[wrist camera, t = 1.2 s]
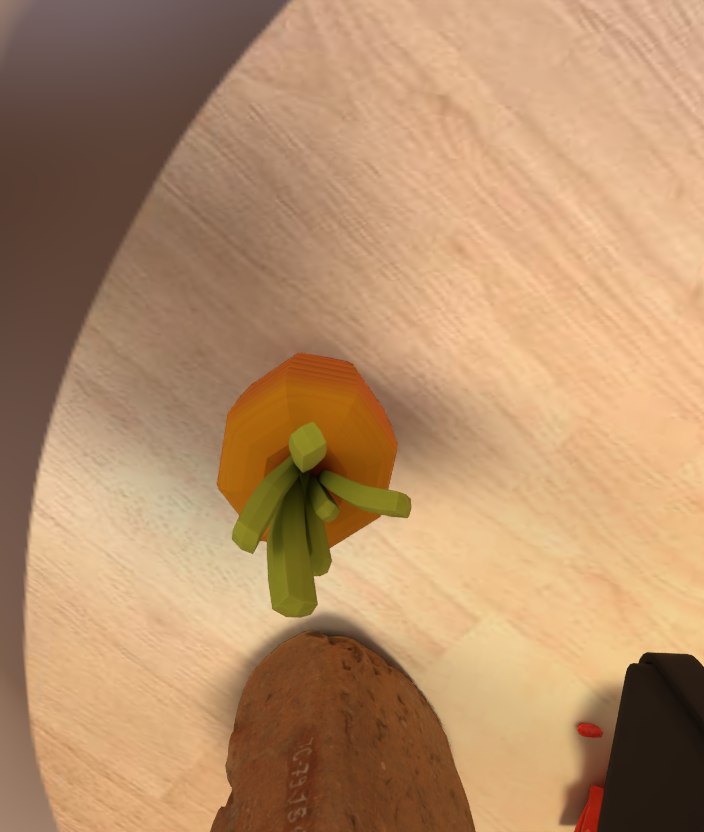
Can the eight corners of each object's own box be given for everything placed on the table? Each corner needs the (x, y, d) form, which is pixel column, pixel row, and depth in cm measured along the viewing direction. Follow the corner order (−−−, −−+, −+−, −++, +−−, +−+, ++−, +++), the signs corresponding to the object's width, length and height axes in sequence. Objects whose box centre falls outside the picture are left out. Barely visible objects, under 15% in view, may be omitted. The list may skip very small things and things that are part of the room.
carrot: (300, 297, 27) (250, 377, 12) (402, 364, 27) (470, 514, 13) (237, 398, 28) (121, 581, 13) (336, 460, 28) (331, 696, 14)
